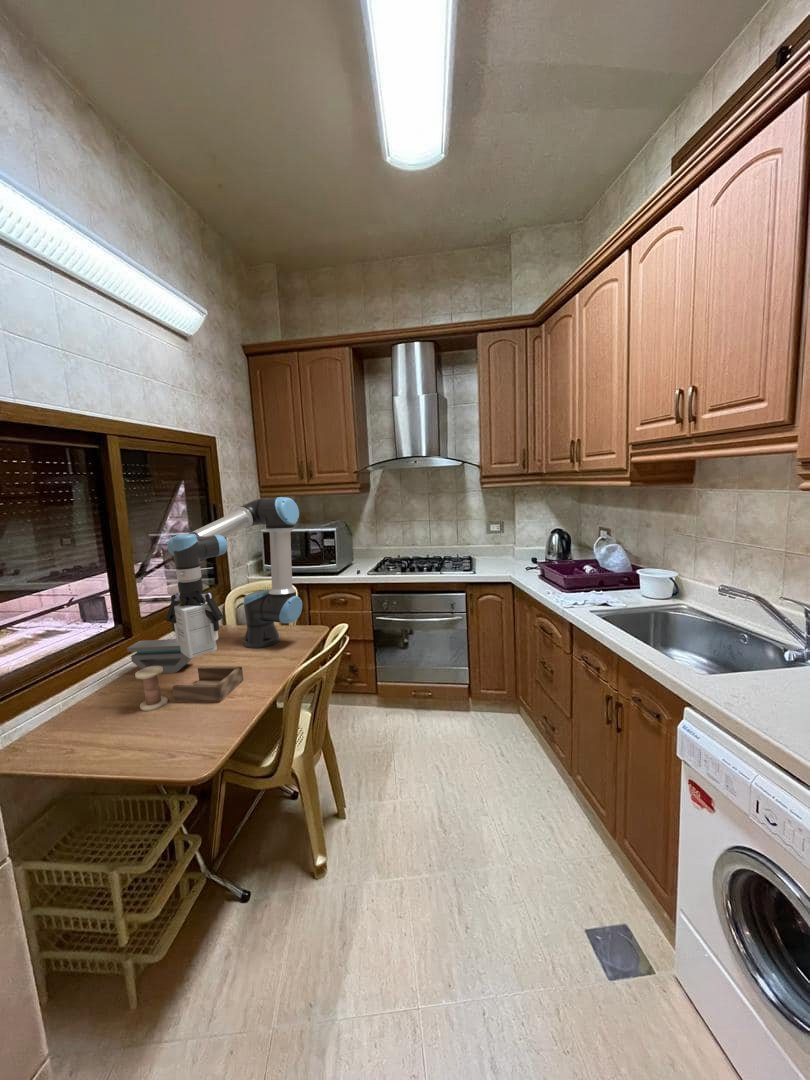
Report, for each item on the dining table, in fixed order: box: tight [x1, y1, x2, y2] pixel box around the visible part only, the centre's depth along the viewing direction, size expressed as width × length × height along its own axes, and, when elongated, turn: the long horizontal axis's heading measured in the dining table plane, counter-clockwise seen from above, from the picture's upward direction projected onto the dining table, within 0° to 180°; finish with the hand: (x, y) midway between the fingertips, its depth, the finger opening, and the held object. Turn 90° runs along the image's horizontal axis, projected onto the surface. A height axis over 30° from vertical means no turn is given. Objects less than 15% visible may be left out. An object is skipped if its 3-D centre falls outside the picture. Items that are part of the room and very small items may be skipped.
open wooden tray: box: [171, 666, 244, 703], centre depth 157 cm, size 16×16×5 cm
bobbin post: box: [134, 666, 169, 712], centre depth 149 cm, size 8×8×12 cm
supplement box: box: [174, 601, 218, 660], centre depth 155 cm, size 10×9×17 cm
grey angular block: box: [126, 638, 193, 674], centre depth 179 cm, size 25×8×11 cm, turn 88°
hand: (197, 640), depth 155 cm, fingers closed on supplement box, 12 cm apart
